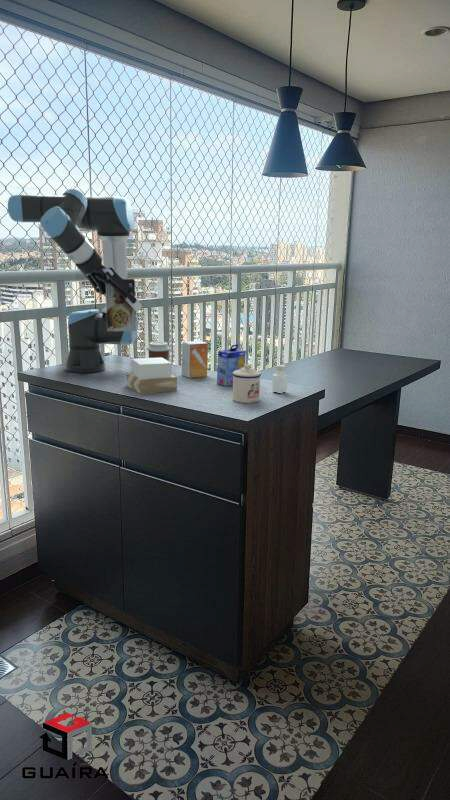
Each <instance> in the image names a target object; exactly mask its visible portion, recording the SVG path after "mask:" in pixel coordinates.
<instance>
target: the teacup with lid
mask: <svg viewBox="0 0 450 800" xmlns="http://www.w3.org/2000/svg"><path fill="white" fill-rule="evenodd" d="M232 375H233V385H232V400H233V401H234V402H236V403H241V404H253V403H256V402H259V400H260V388H261V387H260V386H261V385H260V383H261V381H260V380H261V375H262V374H261V372H260V371H259V370H256V369H254V368H253V367H251V365H250V364H246V363H245V365H244V367H243V368H240V369H239V370H236V371H234V372H233V374H232Z"/></svg>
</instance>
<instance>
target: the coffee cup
mask: <svg viewBox="0 0 450 800" xmlns="http://www.w3.org/2000/svg"><path fill="white" fill-rule="evenodd" d="M146 350H147V351H148V358H161V357H162V358H164V359H166V360H167V361H169V351H171V347H170V346H169V344H168V342H167V341H166V342H165V341H150V342H149V345H148V346H146Z"/></svg>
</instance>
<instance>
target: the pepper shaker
mask: <svg viewBox="0 0 450 800" xmlns="http://www.w3.org/2000/svg"><path fill="white" fill-rule="evenodd" d="M271 384H272V385H271V392H272V391H273V392H272V393H274V392H278V393H282V394H284V393H283V392H285V393H287V392H286V391H288V375H287V374H286V365H285V364H276V365H275V374H273V375H272V383H271ZM278 393H277V394H278Z"/></svg>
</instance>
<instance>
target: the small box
mask: <svg viewBox="0 0 450 800" xmlns="http://www.w3.org/2000/svg"><path fill="white" fill-rule="evenodd" d="M208 349H209V343H208V342H205V341H202V340H194V341H193V340H191V341H182V342H181V376H184V377H187V378H189V379H191V378H200V377H208V359H209V358H208V355H209V353H208V352H209V351H208Z"/></svg>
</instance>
